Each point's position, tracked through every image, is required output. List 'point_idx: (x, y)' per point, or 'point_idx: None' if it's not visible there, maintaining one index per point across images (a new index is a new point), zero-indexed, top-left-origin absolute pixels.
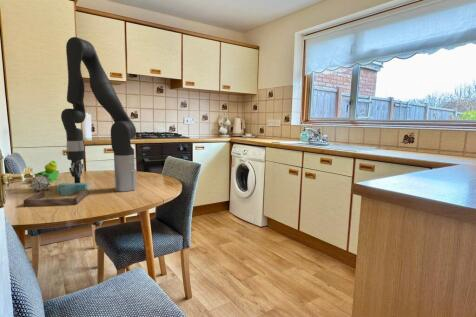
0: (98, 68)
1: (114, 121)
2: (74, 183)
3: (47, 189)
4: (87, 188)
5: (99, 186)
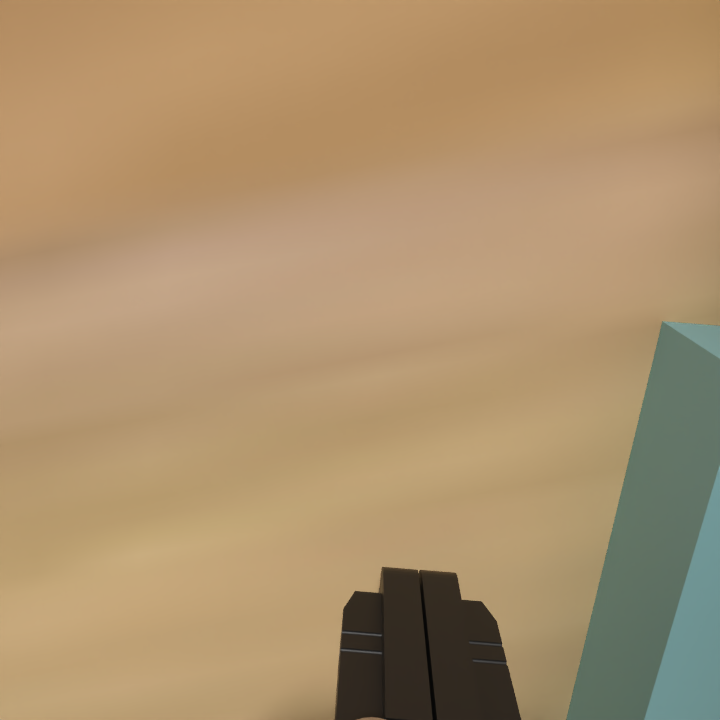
0: None
1: None
2: (686, 672)
3: None
4: (708, 329)
5: (459, 72)
